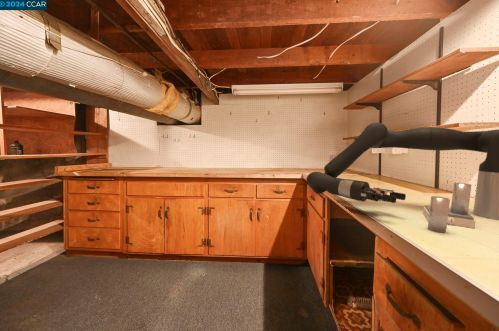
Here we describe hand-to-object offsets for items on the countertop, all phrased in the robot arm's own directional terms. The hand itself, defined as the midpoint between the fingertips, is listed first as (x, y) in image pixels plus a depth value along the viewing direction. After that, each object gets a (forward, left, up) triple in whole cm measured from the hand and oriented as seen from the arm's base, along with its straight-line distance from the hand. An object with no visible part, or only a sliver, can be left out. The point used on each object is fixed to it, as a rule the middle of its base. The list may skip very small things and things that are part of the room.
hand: (400, 198), depth 79 cm
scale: (-12, +15, -8) cm, 21 cm away
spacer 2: (-11, +18, -4) cm, 21 cm away
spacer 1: (+4, +10, -8) cm, 13 cm away
